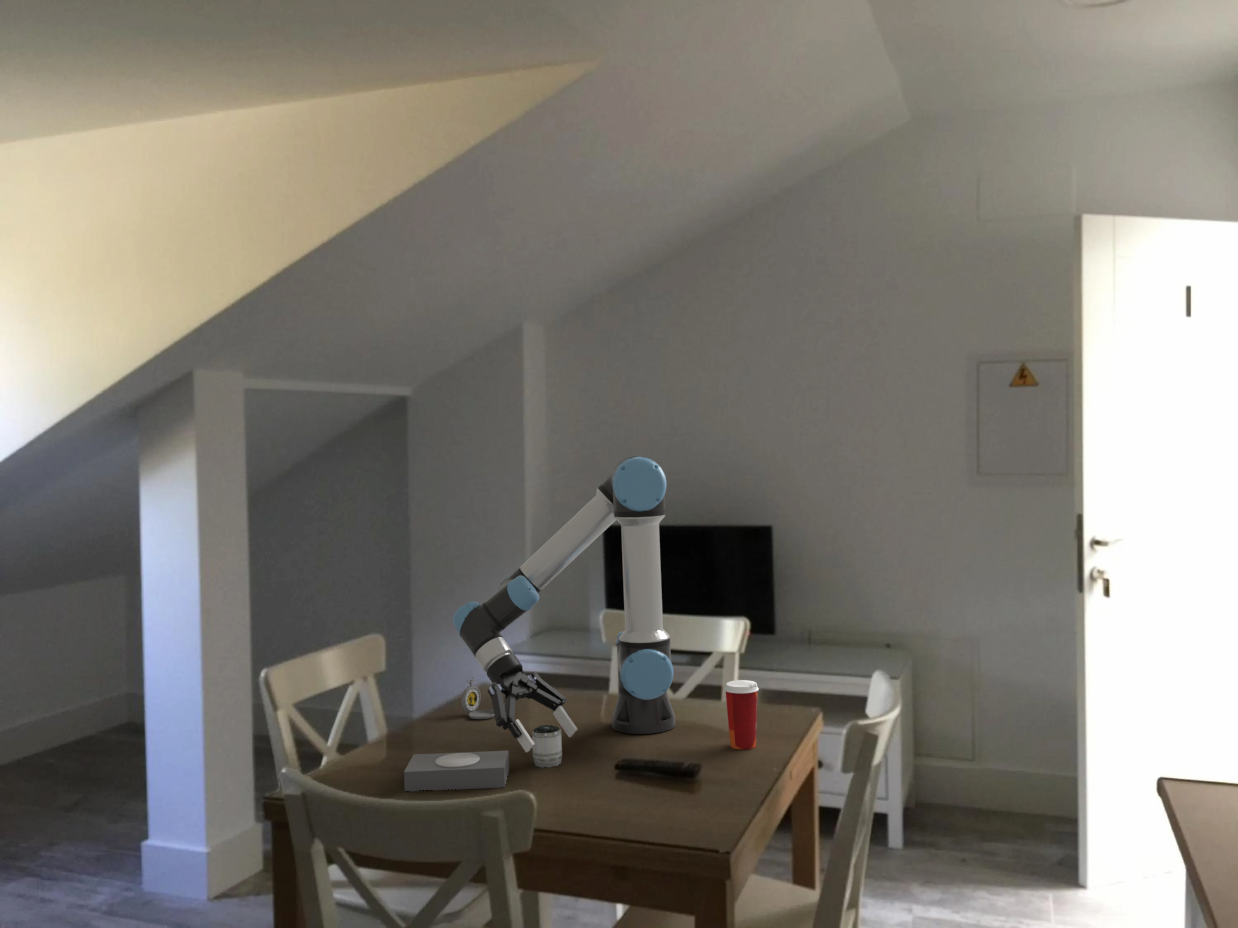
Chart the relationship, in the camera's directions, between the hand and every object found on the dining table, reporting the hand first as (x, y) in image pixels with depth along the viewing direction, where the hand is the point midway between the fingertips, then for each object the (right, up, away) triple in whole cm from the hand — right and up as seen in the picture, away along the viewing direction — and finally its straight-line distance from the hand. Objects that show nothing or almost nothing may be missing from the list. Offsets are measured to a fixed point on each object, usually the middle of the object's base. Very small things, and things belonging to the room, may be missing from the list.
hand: (552, 740), depth 233 cm
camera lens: (-1, -5, +1) cm, 6 cm away
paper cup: (+42, -4, +10) cm, 43 cm away
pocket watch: (-21, -5, +44) cm, 49 cm away
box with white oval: (-19, -6, -8) cm, 21 cm away
